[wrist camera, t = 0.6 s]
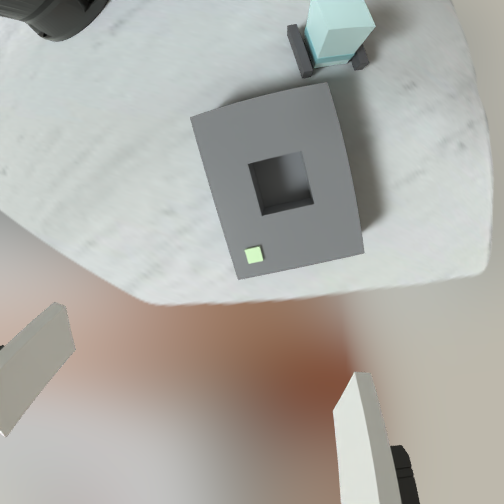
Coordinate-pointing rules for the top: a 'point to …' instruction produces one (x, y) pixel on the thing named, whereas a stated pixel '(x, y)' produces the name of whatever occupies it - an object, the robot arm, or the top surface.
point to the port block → (280, 180)
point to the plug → (336, 30)
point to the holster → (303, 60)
